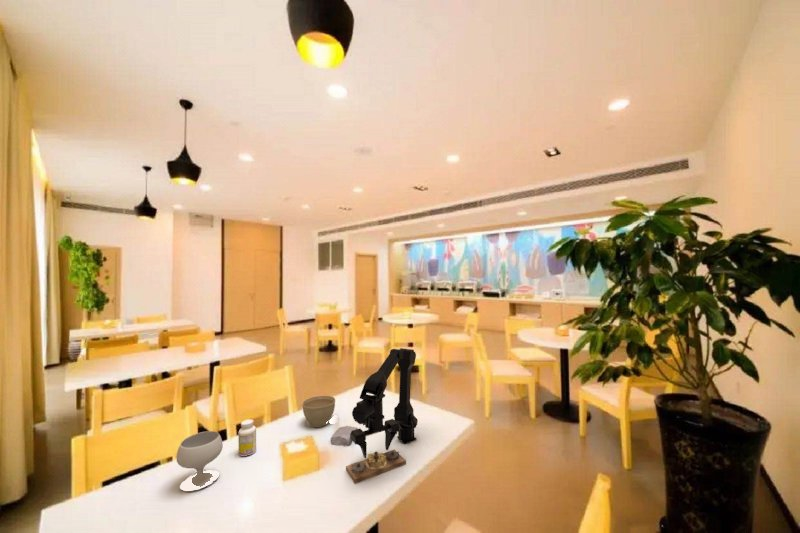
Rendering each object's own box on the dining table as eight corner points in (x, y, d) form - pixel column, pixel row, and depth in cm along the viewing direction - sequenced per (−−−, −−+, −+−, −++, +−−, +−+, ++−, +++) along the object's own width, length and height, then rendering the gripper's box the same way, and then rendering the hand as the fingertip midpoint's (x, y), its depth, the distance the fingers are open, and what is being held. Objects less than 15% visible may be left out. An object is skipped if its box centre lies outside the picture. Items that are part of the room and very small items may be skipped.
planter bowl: (342, 420, 155) (342, 398, 155) (318, 434, 141) (317, 410, 141) (320, 413, 163) (320, 393, 164) (295, 426, 150) (295, 403, 150)
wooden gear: (380, 455, 120) (380, 450, 120) (389, 464, 114) (388, 458, 114) (363, 461, 116) (363, 455, 116) (371, 470, 110) (371, 465, 110)
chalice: (172, 500, 100) (172, 454, 100) (180, 476, 112) (180, 435, 113) (221, 486, 106) (221, 442, 107) (223, 465, 119) (223, 426, 119)
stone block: (329, 449, 131) (350, 446, 130) (327, 438, 132) (348, 435, 130) (340, 436, 143) (359, 433, 141) (338, 426, 144) (357, 423, 142)
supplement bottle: (246, 447, 131) (246, 417, 131) (259, 449, 129) (259, 418, 130) (234, 456, 124) (234, 424, 125) (248, 458, 123) (248, 426, 123)
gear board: (394, 453, 124) (394, 439, 125) (405, 464, 117) (405, 449, 117) (345, 470, 114) (345, 455, 114) (354, 483, 106) (354, 467, 106)
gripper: (386, 399, 128) (387, 437, 127) (344, 410, 118) (345, 451, 118) (400, 409, 118) (401, 450, 117) (355, 421, 109) (356, 466, 108)
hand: (376, 453), depth 115 cm, fingers open, 9 cm apart
